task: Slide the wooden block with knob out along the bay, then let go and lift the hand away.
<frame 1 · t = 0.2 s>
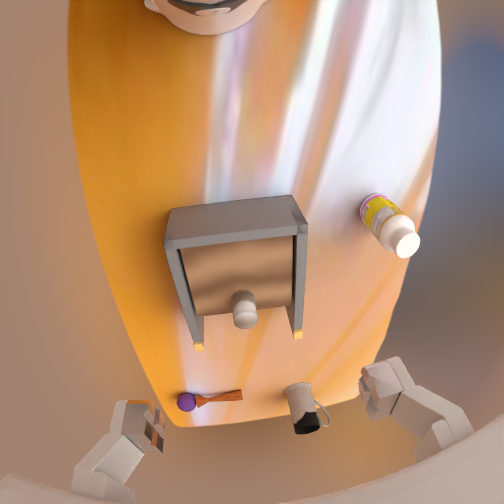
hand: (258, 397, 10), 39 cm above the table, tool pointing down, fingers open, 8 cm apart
bay: (238, 260, 55), on the table
supplement bottle: (373, 207, 52), on the table
wooden block with knob: (239, 273, 47), point 8 cm above the table, slide at 0.0 cm
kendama: (209, 392, 83), on the table
glass holder: (304, 389, 87), on the table
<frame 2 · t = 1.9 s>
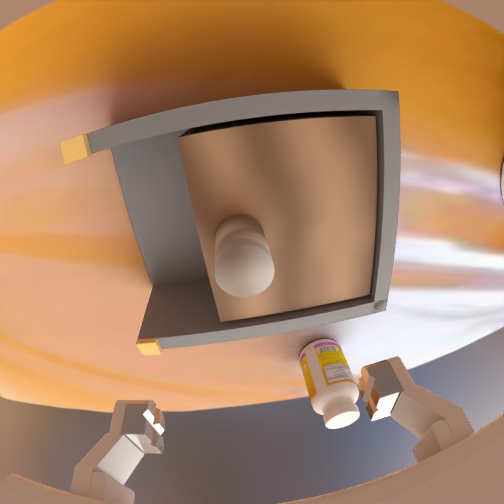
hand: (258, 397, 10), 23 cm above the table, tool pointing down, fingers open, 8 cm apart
bay: (242, 195, 30), on the table
supplement bottle: (319, 350, 43), on the table
wooden block with knob: (288, 220, 23), point 8 cm above the table, slide at 0.0 cm
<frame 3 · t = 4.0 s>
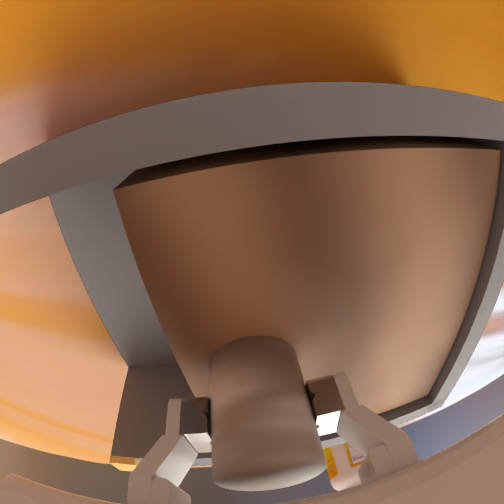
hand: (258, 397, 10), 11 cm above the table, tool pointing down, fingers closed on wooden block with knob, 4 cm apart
bay: (251, 252, 20), on the table
supplement bottle: (338, 415, 33), on the table
wooden block with knob: (336, 323, 13), point 8 cm above the table, slide at 0.0 cm, touching gripper
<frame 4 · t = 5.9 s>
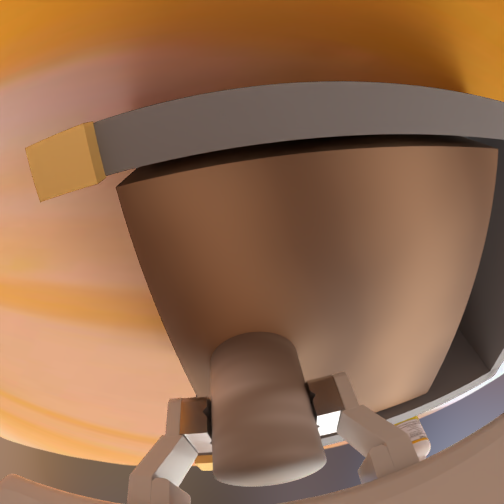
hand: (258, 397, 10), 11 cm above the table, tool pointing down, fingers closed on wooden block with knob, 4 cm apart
bay: (340, 236, 20), on the table
supplement bottle: (382, 400, 33), on the table
wooden block with knob: (336, 321, 13), point 8 cm above the table, slide at 6.3 cm, touching gripper
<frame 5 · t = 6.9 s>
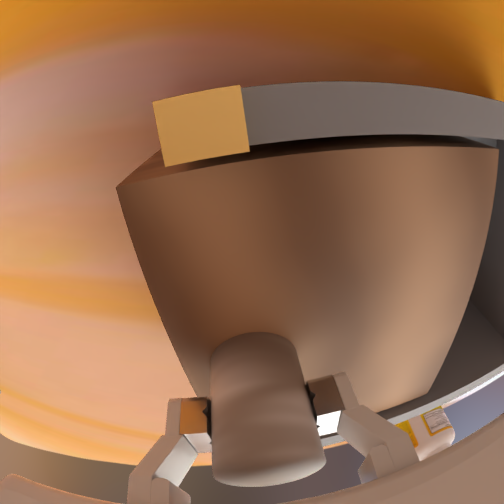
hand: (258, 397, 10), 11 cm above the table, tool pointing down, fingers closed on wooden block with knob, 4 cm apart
bay: (387, 229, 20), on the table
supplement bottle: (406, 392, 33), on the table
wooden block with knob: (336, 321, 13), point 8 cm above the table, slide at 10.1 cm, touching gripper
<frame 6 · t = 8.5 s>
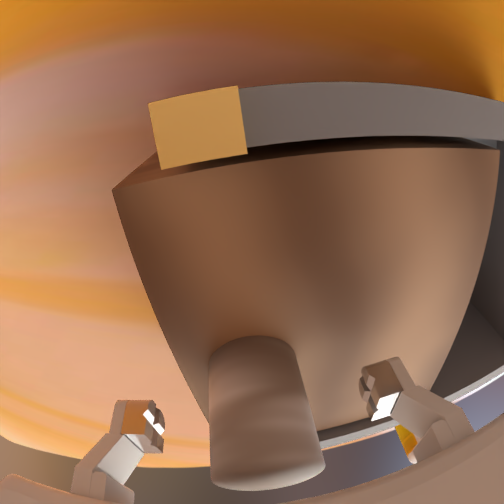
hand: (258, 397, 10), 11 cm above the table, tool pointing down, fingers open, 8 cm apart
bay: (387, 230, 20), on the table
supplement bottle: (406, 393, 33), on the table
wooden block with knob: (335, 324, 13), point 8 cm above the table, slide at 10.1 cm
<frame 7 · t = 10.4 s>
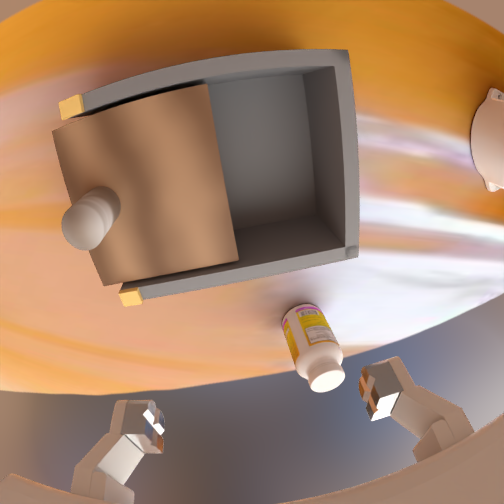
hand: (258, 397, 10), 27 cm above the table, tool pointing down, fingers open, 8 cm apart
bay: (218, 158, 32), on the table
supplement bottle: (301, 318, 45), on the table
wooden block with knob: (146, 190, 25), point 8 cm above the table, slide at 10.1 cm
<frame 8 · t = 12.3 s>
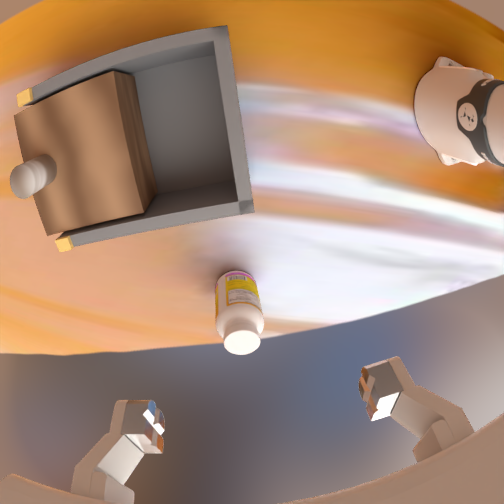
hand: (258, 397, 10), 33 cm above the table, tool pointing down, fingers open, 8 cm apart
bay: (146, 133, 35), on the table
supplement bottle: (236, 285, 48), on the table
wooden block with knob: (76, 157, 28), point 8 cm above the table, slide at 10.1 cm
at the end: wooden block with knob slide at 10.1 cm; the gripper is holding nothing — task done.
